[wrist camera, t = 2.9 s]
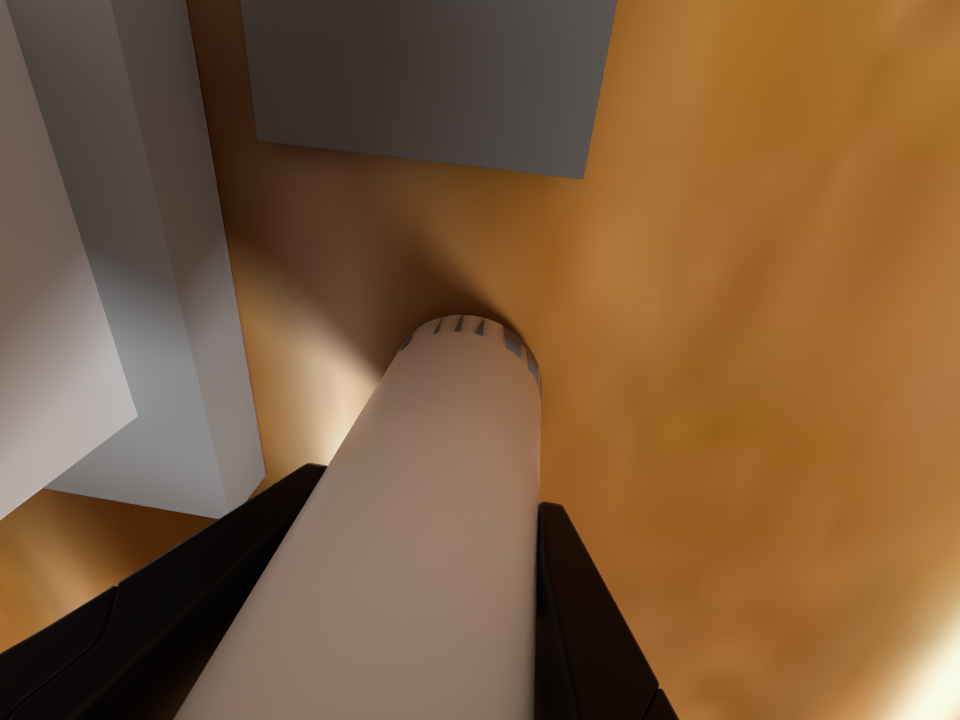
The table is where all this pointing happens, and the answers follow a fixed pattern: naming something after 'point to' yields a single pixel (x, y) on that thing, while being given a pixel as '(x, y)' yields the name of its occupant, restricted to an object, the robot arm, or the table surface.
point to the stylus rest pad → (432, 78)
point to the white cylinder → (405, 554)
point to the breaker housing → (115, 267)
